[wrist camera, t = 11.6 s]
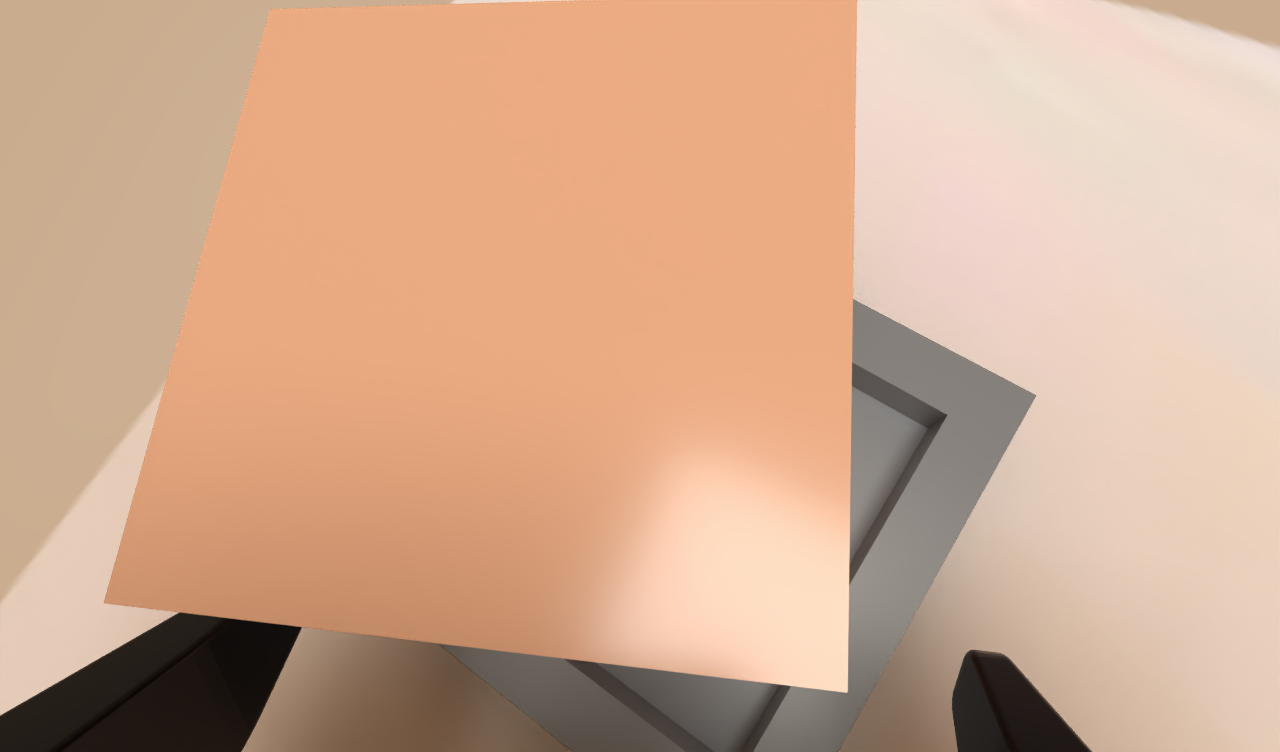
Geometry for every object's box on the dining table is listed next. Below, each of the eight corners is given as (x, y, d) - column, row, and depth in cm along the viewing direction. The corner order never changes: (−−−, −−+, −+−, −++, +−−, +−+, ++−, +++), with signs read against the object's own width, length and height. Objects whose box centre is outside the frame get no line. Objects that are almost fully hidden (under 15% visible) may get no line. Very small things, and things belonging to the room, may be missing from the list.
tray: (753, 854, 16) (755, 899, 13) (370, 553, 19) (323, 552, 16) (999, 416, 17) (1036, 395, 15) (614, 207, 20) (601, 167, 18)
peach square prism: (760, 597, 16) (846, 692, 4) (559, 576, 17) (104, 603, 5) (769, 395, 18) (856, -8, 5) (581, 384, 18) (270, 8, 6)
